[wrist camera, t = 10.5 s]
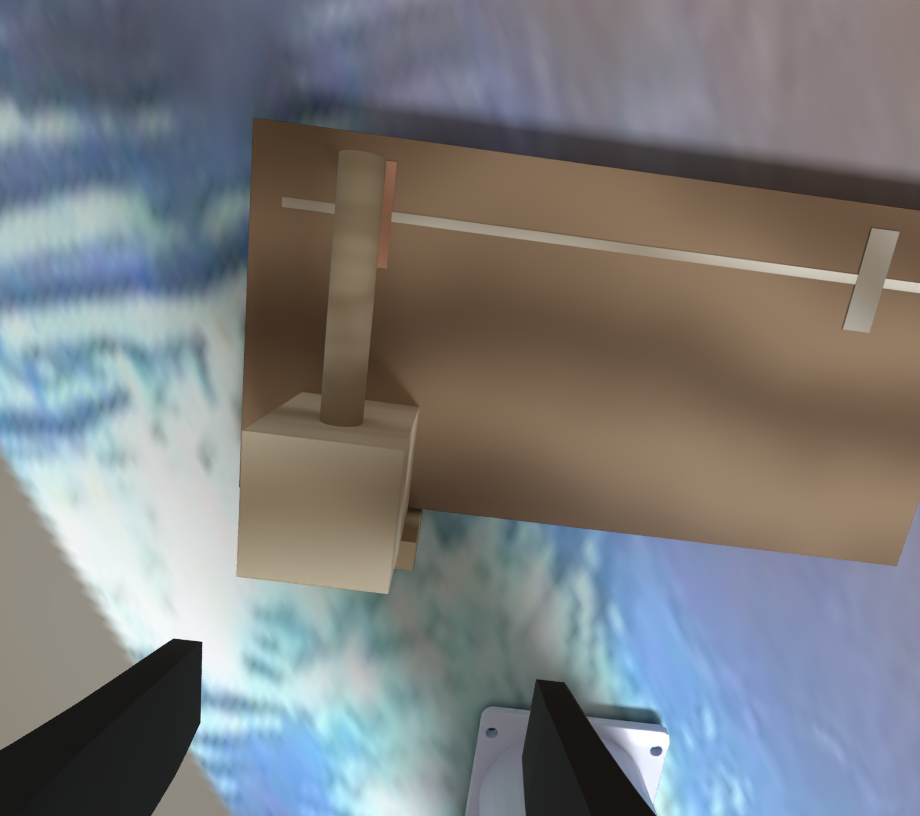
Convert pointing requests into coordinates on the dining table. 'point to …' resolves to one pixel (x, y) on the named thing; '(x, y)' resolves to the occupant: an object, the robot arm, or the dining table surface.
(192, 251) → the dining table surface
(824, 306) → the tan wooden flat board
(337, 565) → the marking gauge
